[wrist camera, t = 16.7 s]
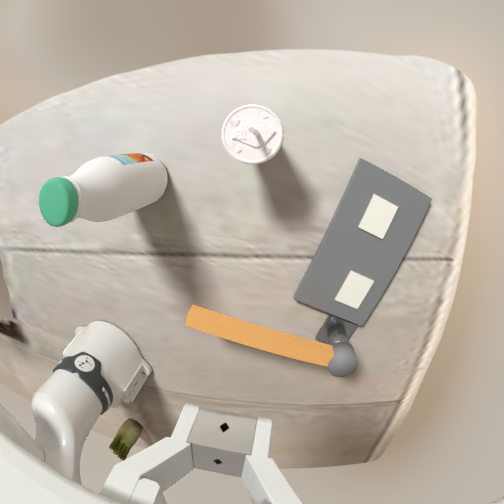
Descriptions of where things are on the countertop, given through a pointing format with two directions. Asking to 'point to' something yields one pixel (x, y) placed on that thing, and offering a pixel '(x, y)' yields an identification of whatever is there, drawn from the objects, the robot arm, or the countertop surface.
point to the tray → (363, 244)
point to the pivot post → (335, 330)
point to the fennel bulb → (125, 438)
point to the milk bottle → (104, 189)
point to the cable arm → (274, 341)
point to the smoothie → (252, 134)
